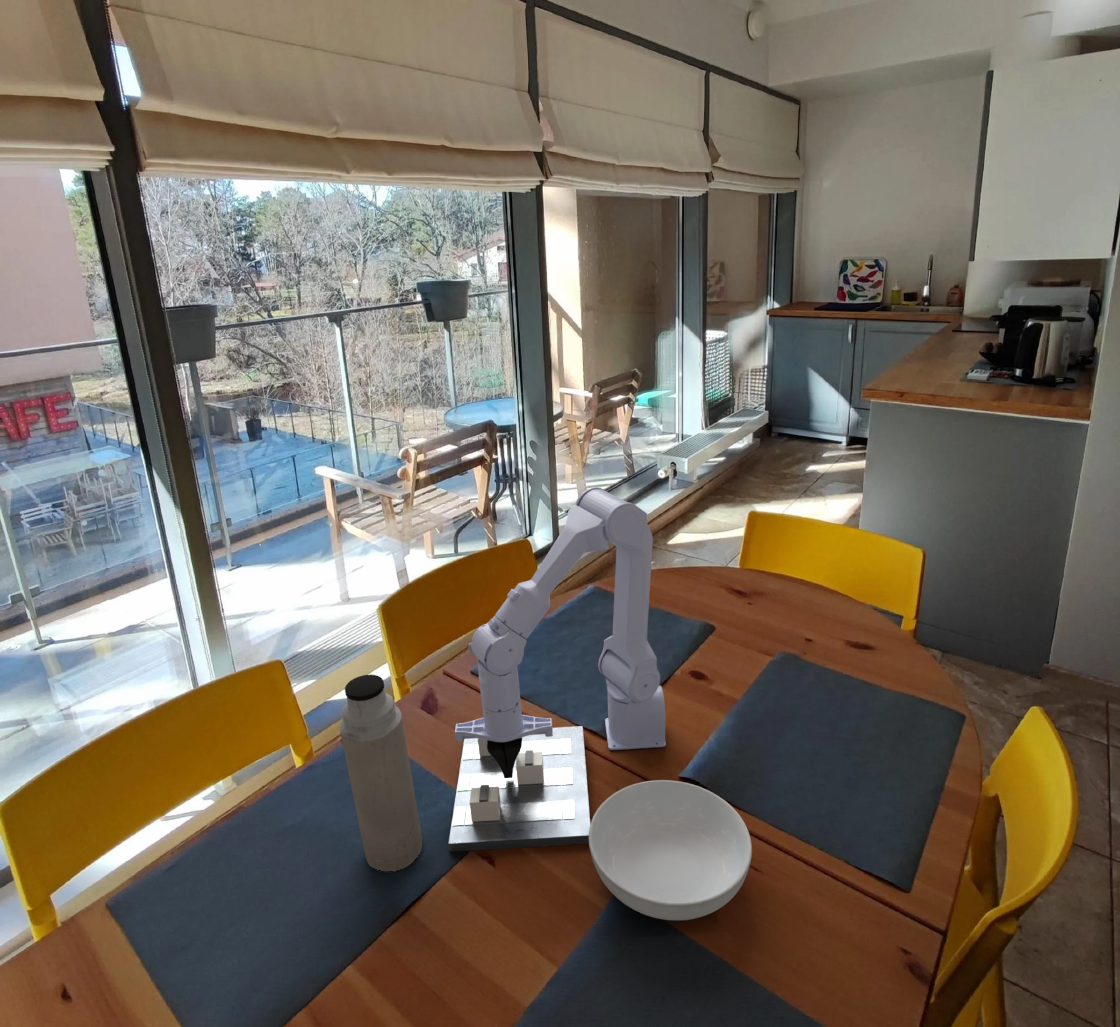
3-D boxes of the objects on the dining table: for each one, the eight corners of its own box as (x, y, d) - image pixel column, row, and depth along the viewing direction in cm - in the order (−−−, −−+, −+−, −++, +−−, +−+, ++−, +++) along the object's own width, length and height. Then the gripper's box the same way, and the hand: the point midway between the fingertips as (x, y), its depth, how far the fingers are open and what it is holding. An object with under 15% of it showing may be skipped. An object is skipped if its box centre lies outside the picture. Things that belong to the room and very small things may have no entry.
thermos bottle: (384, 823, 110) (355, 662, 100) (432, 834, 108) (407, 670, 97) (354, 865, 103) (319, 697, 93) (404, 878, 101) (374, 707, 90)
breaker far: (505, 742, 123) (503, 723, 121) (504, 754, 120) (502, 735, 119) (481, 744, 123) (478, 724, 121) (479, 756, 120) (477, 736, 119)
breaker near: (500, 804, 110) (498, 784, 108) (499, 820, 107) (497, 798, 106) (473, 806, 110) (471, 785, 108) (471, 821, 107) (469, 800, 106)
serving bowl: (715, 976, 85) (717, 933, 83) (561, 900, 96) (558, 860, 93) (770, 850, 102) (773, 811, 99) (633, 797, 112) (632, 761, 110)
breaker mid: (543, 769, 116) (542, 749, 115) (543, 783, 113) (542, 762, 112) (518, 771, 116) (516, 751, 115) (517, 784, 113) (515, 764, 112)
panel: (582, 733, 127) (582, 725, 126) (591, 843, 104) (591, 834, 104) (466, 740, 127) (465, 732, 126) (449, 851, 104) (448, 842, 104)
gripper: (549, 681, 113) (555, 753, 118) (455, 687, 113) (464, 758, 118) (550, 710, 107) (555, 784, 112) (449, 716, 107) (459, 790, 112)
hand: (508, 773), depth 115 cm, fingers closed
